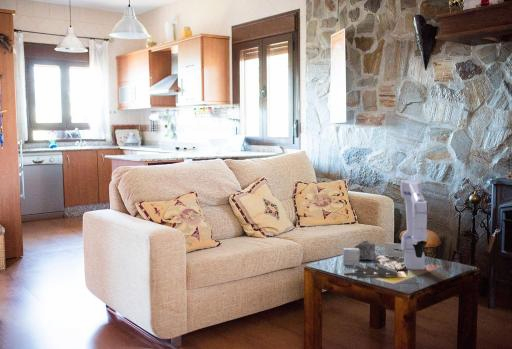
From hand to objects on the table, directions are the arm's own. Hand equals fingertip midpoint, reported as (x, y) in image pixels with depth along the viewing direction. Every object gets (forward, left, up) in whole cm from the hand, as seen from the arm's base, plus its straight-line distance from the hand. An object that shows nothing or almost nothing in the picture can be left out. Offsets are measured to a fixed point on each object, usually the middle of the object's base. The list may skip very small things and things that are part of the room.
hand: (419, 257), depth 239 cm
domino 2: (+15, -3, -9) cm, 17 cm away
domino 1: (+20, -3, -8) cm, 22 cm away
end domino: (+25, -3, -8) cm, 26 cm away
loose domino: (+9, -3, -9) cm, 13 cm away
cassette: (+4, -39, -11) cm, 41 cm away
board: (+15, -4, -10) cm, 19 cm away
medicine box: (+29, -20, -11) cm, 37 cm away
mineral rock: (+22, -34, -11) cm, 42 cm away
